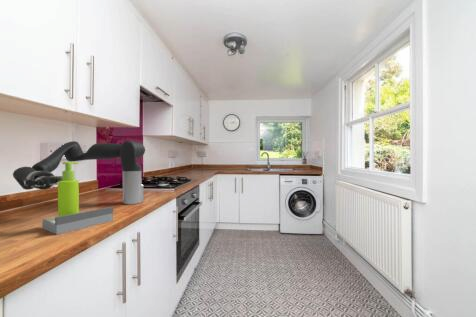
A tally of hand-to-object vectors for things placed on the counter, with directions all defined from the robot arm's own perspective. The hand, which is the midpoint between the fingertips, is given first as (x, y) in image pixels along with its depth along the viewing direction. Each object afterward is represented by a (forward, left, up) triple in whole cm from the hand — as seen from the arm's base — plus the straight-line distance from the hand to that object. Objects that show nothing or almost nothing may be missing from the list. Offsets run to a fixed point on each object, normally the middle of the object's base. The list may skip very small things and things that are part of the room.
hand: (56, 182), depth 85 cm
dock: (-3, +11, -15) cm, 19 cm away
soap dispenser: (0, +10, -12) cm, 16 cm away
